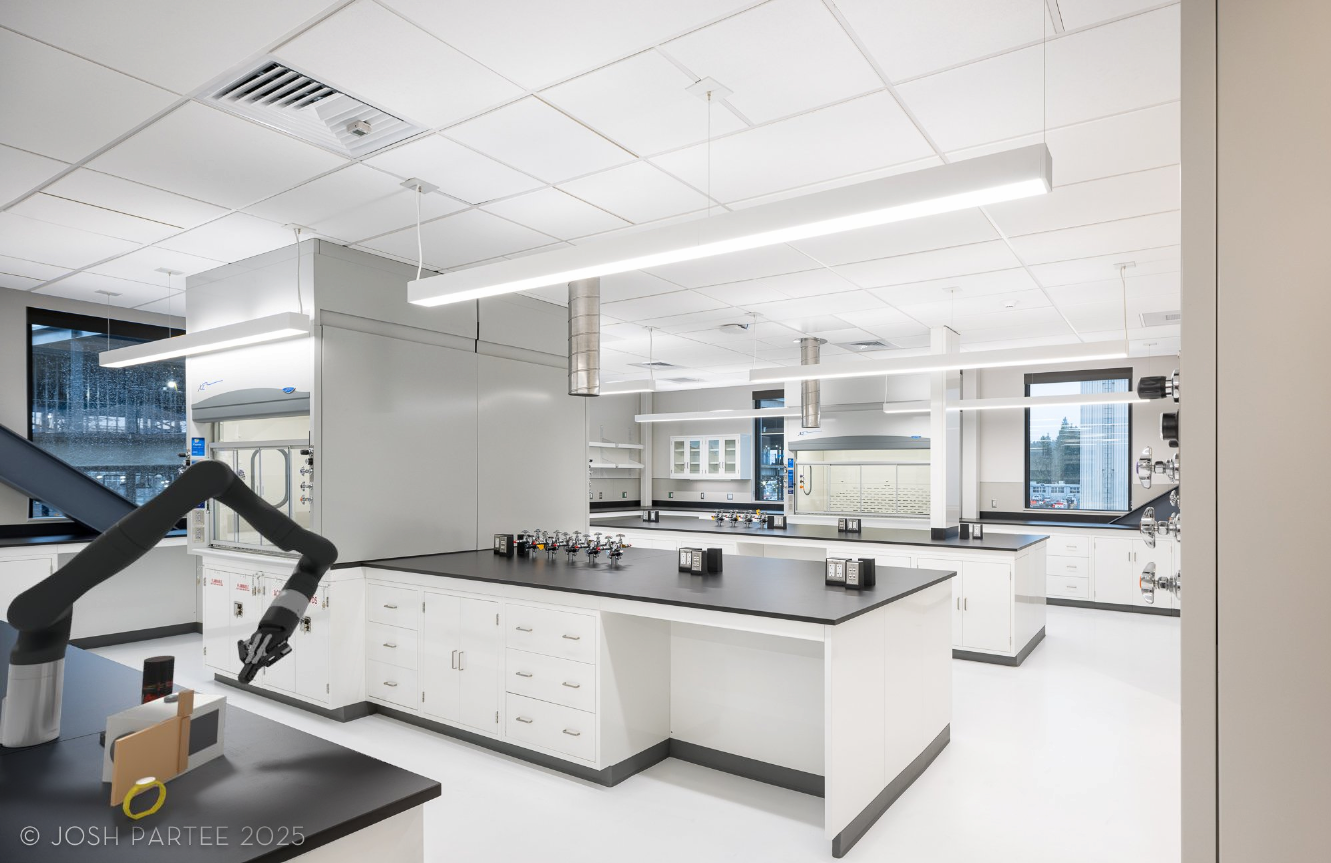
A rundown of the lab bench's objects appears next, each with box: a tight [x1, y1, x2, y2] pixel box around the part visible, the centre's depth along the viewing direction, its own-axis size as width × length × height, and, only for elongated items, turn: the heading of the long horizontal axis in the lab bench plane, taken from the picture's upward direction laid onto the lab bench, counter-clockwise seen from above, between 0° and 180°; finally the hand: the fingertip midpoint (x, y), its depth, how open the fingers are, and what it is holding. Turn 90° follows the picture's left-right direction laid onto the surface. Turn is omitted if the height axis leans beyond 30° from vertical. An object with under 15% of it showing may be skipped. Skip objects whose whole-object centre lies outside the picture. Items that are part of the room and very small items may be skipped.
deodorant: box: [140, 655, 176, 705], centre depth 165 cm, size 6×6×15 cm
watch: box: [122, 777, 167, 820], centre depth 121 cm, size 6×3×6 cm, turn 151°
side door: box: [110, 689, 195, 807], centre depth 130 cm, size 2×15×16 cm, turn 171°
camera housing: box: [102, 692, 228, 788], centre depth 140 cm, size 12×18×13 cm
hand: (242, 682), depth 151 cm, fingers closed
